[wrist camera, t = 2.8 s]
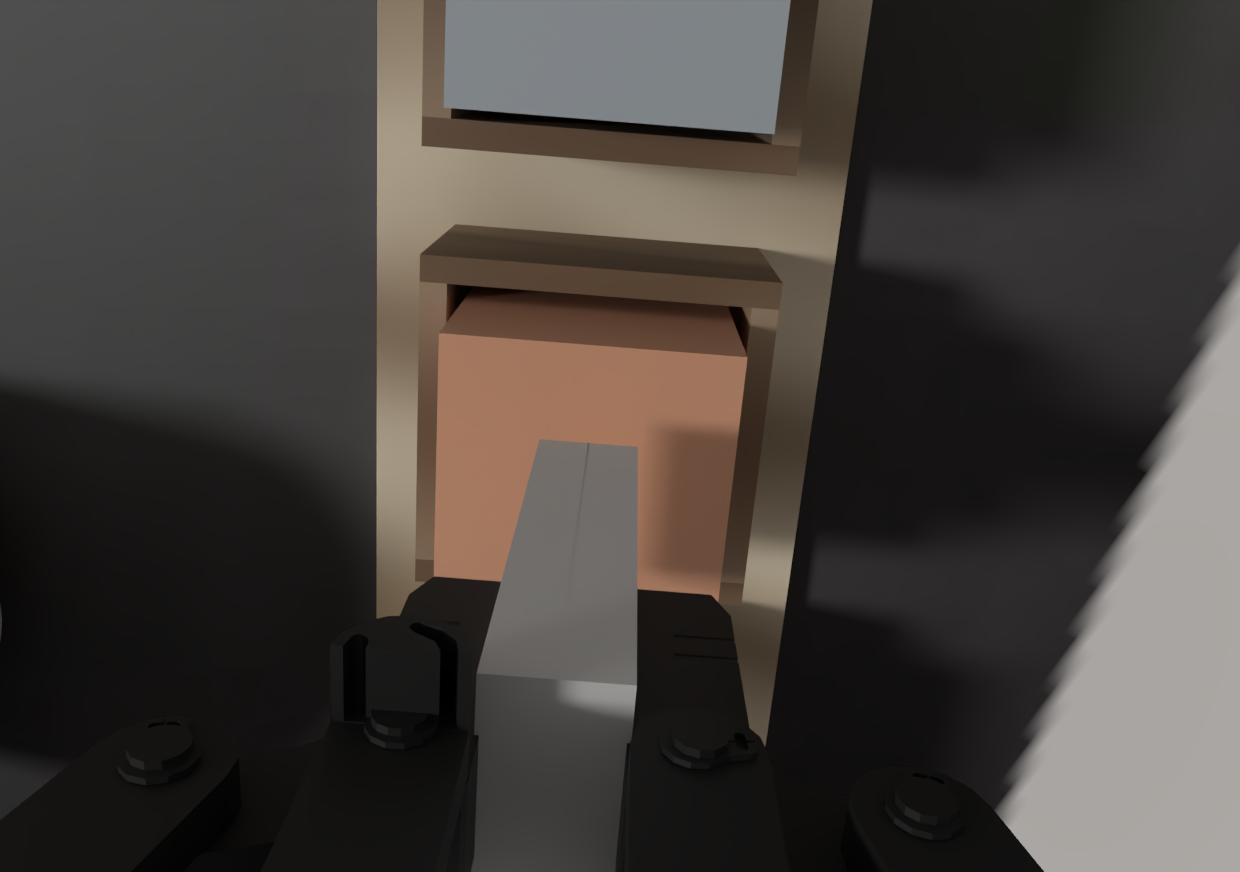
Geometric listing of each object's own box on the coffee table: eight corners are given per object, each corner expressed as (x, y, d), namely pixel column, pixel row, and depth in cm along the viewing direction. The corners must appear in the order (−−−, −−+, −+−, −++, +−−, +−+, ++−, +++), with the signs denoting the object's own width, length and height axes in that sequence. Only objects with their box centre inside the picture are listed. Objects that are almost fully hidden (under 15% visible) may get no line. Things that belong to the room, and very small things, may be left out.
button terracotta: (701, 535, 22) (714, 630, 19) (467, 517, 22) (433, 608, 19) (727, 305, 21) (747, 357, 17) (474, 285, 21) (438, 333, 17)
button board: (746, 847, 29) (766, 982, 25) (380, 821, 29) (336, 951, 24) (904, -254, 20) (975, -340, 16) (383, -298, 20) (316, -397, 16)
